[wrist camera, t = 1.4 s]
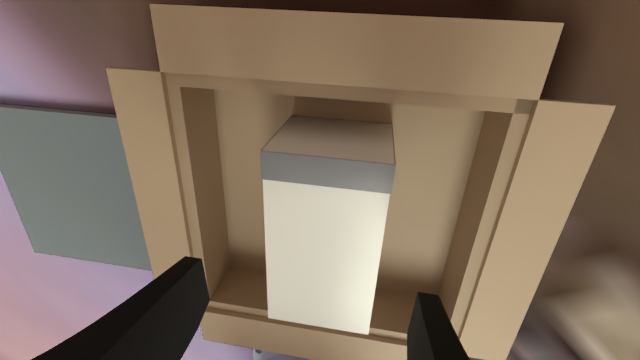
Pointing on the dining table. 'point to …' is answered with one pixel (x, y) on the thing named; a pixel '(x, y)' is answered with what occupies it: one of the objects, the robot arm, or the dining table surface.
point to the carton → (410, 153)
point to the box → (325, 219)
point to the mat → (72, 184)
